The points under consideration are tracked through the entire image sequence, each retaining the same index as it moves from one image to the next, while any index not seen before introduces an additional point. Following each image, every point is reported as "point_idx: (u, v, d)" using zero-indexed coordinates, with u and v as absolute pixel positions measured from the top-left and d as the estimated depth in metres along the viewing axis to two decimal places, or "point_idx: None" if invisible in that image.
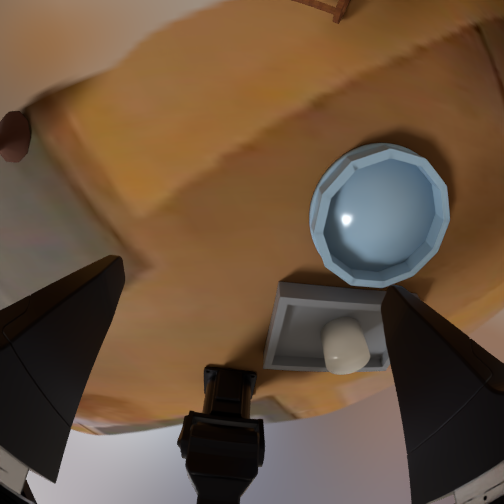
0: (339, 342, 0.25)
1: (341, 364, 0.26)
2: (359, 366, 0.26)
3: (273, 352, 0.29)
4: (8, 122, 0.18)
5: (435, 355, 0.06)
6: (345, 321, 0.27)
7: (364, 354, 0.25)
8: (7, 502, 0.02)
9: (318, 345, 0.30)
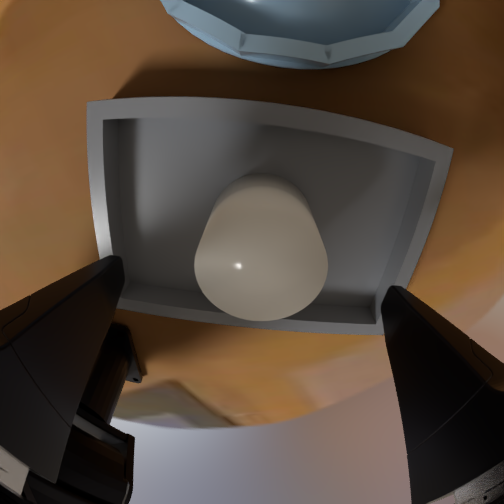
0: (226, 208, 0.09)
1: (243, 282, 0.10)
2: (301, 296, 0.10)
3: None
4: None
5: (435, 355, 0.06)
6: (259, 177, 0.11)
7: (307, 248, 0.09)
8: (7, 502, 0.02)
9: None
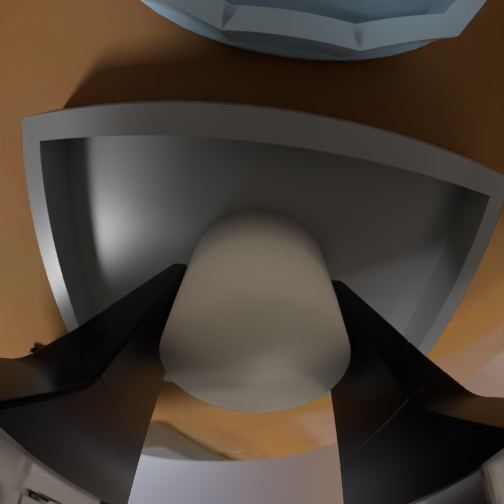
0: (202, 278, 0.06)
1: (229, 378, 0.07)
2: (310, 390, 0.07)
3: (72, 317, 0.09)
4: None
5: (362, 358, 0.06)
6: (254, 218, 0.08)
7: (323, 342, 0.06)
8: None
9: None
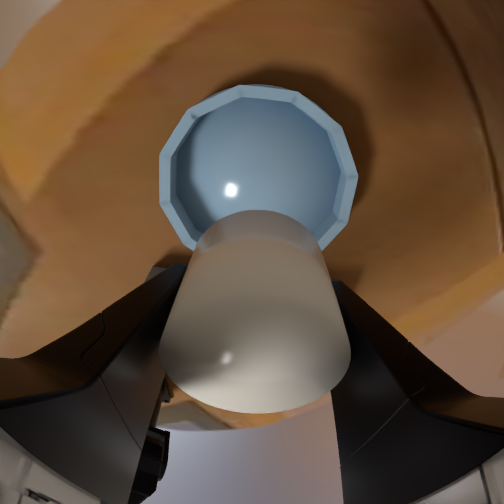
0: (202, 279, 0.06)
1: (229, 379, 0.06)
2: (310, 391, 0.07)
3: None
4: None
5: (362, 358, 0.06)
6: (254, 218, 0.08)
7: (323, 343, 0.06)
8: None
9: None
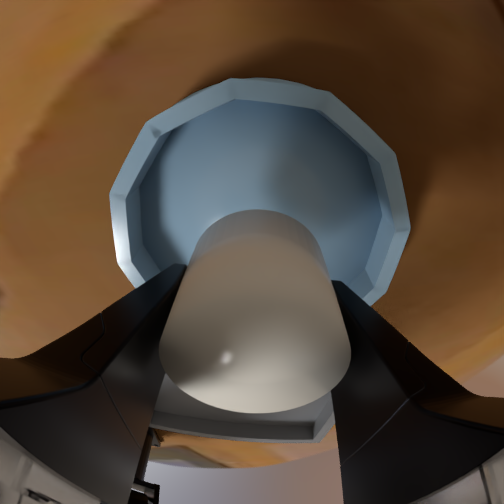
0: (201, 279, 0.06)
1: (229, 379, 0.06)
2: (310, 391, 0.07)
3: None
4: None
5: (362, 358, 0.06)
6: (254, 218, 0.08)
7: (323, 343, 0.06)
8: None
9: (209, 408, 0.20)
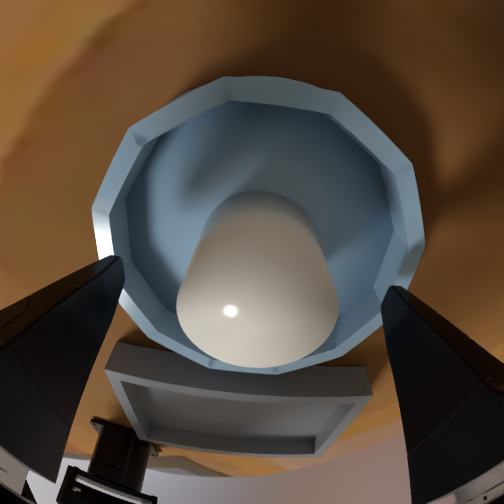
0: (214, 240, 0.08)
1: (235, 329, 0.08)
2: (305, 343, 0.08)
3: (139, 427, 0.17)
4: None
5: (435, 355, 0.06)
6: (256, 197, 0.10)
7: (314, 292, 0.07)
8: (7, 502, 0.02)
9: (207, 423, 0.19)
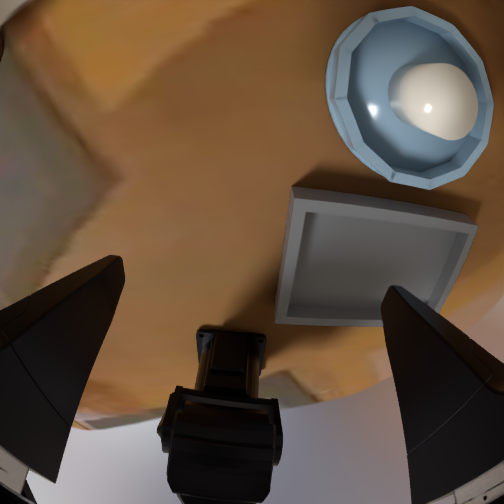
0: (426, 65, 0.11)
1: (441, 107, 0.11)
2: (467, 123, 0.11)
3: (288, 295, 0.21)
4: None
5: (435, 355, 0.06)
6: None
7: (469, 92, 0.10)
8: (7, 502, 0.02)
9: (348, 287, 0.22)
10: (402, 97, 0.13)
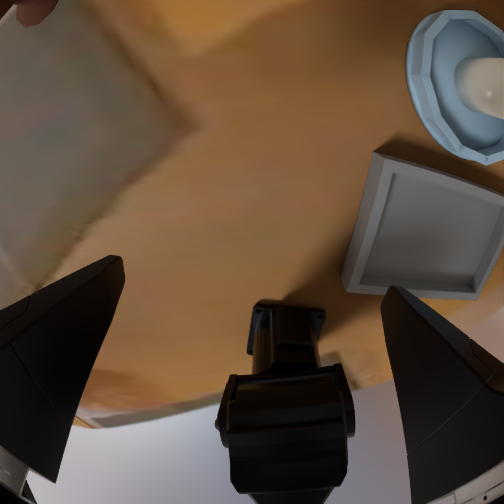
0: (489, 58, 0.10)
1: (502, 92, 0.11)
2: None
3: (365, 260, 0.20)
4: None
5: (435, 355, 0.06)
6: None
7: None
8: (7, 502, 0.02)
9: (412, 257, 0.21)
10: (470, 82, 0.12)
